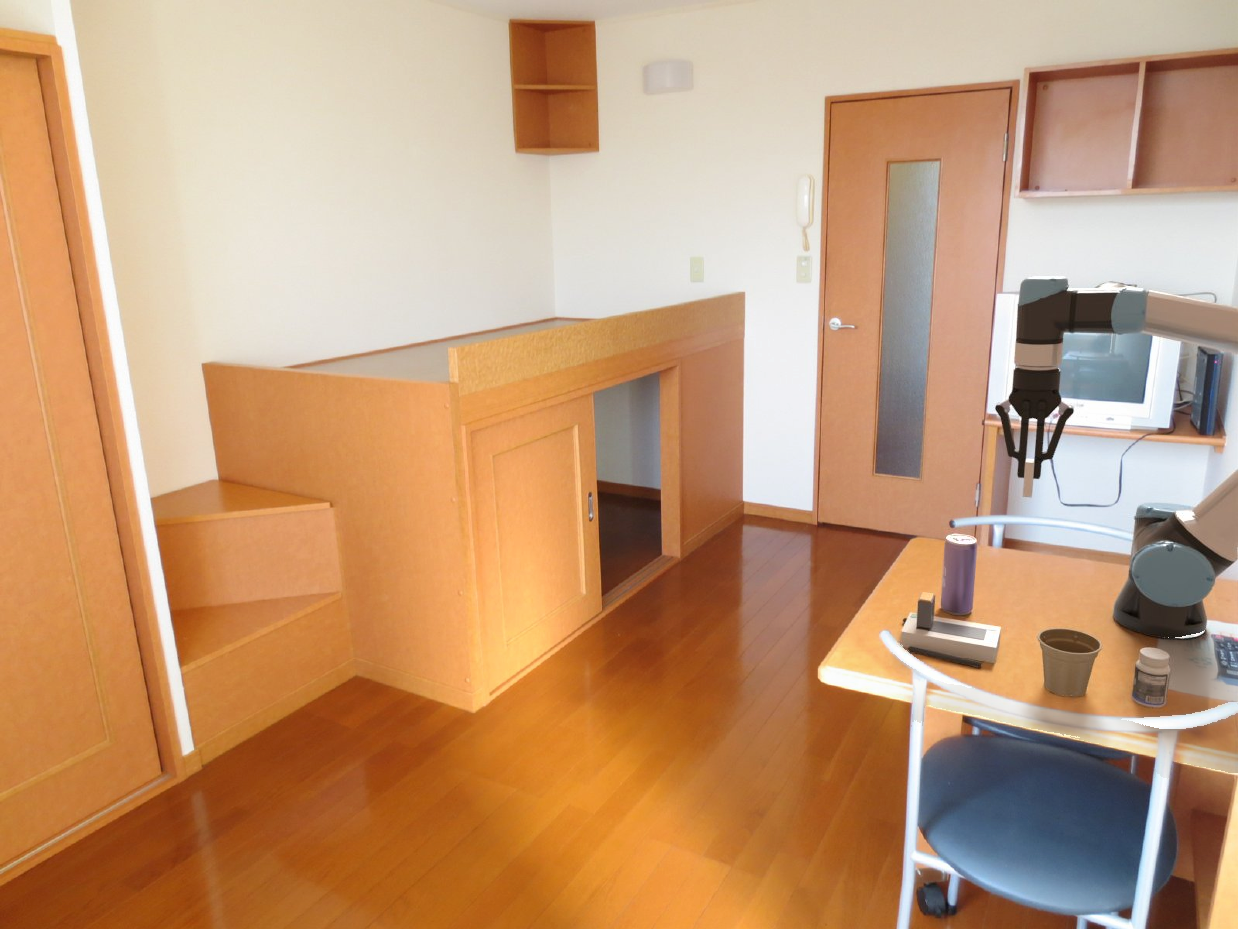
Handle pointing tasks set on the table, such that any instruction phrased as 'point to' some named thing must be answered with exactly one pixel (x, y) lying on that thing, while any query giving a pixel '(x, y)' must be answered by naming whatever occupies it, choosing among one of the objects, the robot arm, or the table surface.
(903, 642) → the white slider switch base
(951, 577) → the beverage can
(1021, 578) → the table surface
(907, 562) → the table surface
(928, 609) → the lever
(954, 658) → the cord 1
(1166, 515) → the robot arm
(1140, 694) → the pill bottle
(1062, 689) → the flower pot
